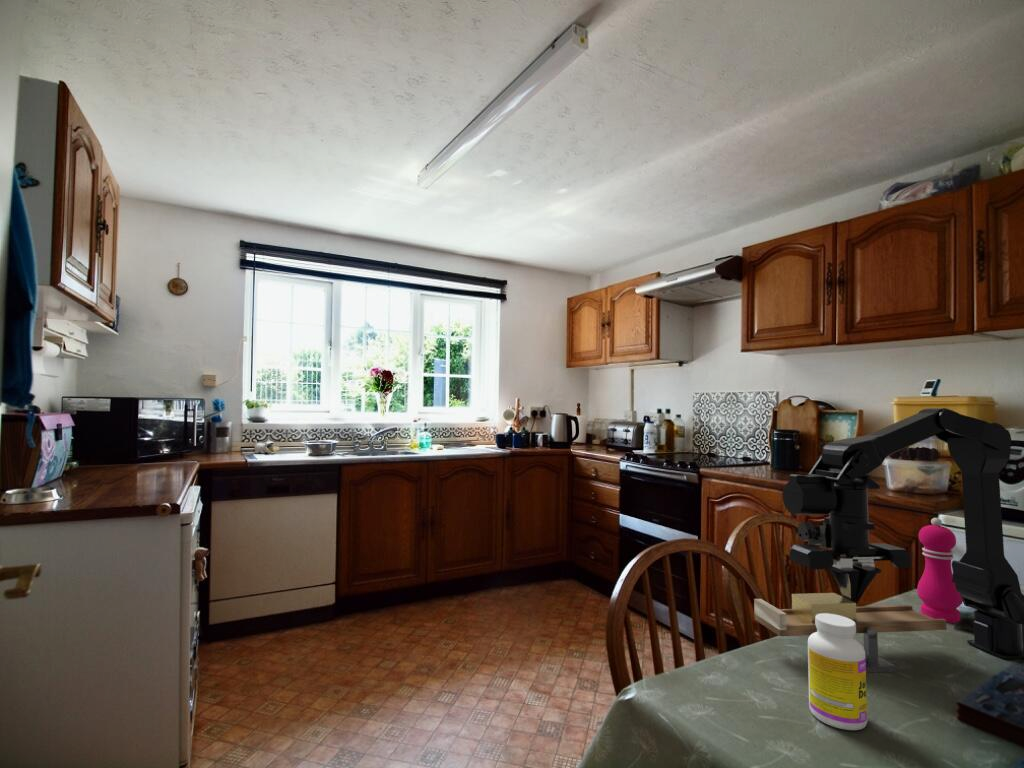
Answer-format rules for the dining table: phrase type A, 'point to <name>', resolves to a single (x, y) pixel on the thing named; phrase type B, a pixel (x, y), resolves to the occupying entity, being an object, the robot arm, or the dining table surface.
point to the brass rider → (821, 606)
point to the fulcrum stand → (874, 653)
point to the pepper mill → (938, 574)
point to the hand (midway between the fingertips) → (850, 606)
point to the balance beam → (867, 616)
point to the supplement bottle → (837, 673)
